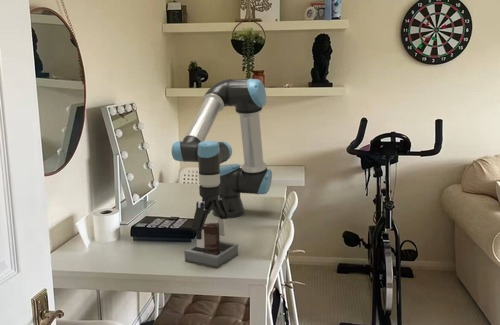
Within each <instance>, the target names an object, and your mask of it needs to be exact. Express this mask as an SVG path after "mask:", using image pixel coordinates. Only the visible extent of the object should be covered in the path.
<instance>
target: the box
mask: <svg viewBox="0 0 500 325" xmlns="http://www.w3.org/2000/svg"><path fill="white" fill-rule="evenodd" d="M202 230H204V247H205V248H204V253H207V254H212V255H219V254H220V241H221V240H220V237H221V236H219V223H218V222H215V223H214V222H213V223H210V222H209V223H208V222H207V223H205V224H204V226H203V229H202Z"/></svg>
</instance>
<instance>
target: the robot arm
mask: <svg viewBox="0 0 500 325" xmlns="http://www.w3.org/2000/svg"><path fill="white" fill-rule="evenodd" d="M201 102H202V104H201V107H200V108H199V110H198V111H197V114H196V115H195V117H194V119H193V121H192V123H191V125H190V127H189V129H188V130H187V132H186V134H185V136H184V137H183V139H182V141H181V140H179V141H175V142H174V143H173V144H172V145H171V156H172V158H173V160H174V161H176V162H183V163H197V164H198V184H199V185H198V186H199V187H198V188H199V189H198V190H199V191H198V194H199V196H200V197H201V201H196V205H195V213H194V216H193V220H192V225H191V230H193V231H195V238H196V244H197V247H200V248H205V247H204V230H203V226H204V224H206V221H207V218H208V215H209V214H210V213H211V211H212V215H213V216H214V217H218V218H217V223H219V237H225V236H226V220H228V218H230V219H231V218H237V217H240V216H243V215H244V214H245V206H244V204H243V201H242V198H241V194H247V195H250V194H251V195H257V196H258V195H266V194H268V192H269V190H270V188H271V185H272V184H271V183H272V180H273V172H272V169H268V164H267V163H266V162H264V155H263V143H262V132H261V119H260V113H261V112H262V111H263V108H264V107H265V106H266V103H267V93H266V89H265V85H264V83H263V81H261V80H260V79H258V78H257V79H256V78H236V79H235V78H226V79H223V80H220V81H218V82H216V83H215V84H214V85H212V86H211V87H210V88H209V89H208V90H207V91H206V92H205V93H204V96H203V97H202V100H201ZM225 107H234V108H235V113H236V114H238V115H239V121H240V122H239V123H240V131H241V142H242V152H243V153H242V154H243V161H244V164H242V166H241V165H240V164H237V163H232V164H224V165H221V164H223V163H226V162H227V161H228V160H229V159H231V157H232V155H233V148H232V146H231V144H229V143H228V142H227V141H218V142H217V141H216V140H215V141H214V140H206V138H207V136H208V134H209V133H210V130H211V129H212V127H213V124H214V123H215V120H216V118H217V116H218V115H219V113H220V112H221V111H223V109H224V108H225Z"/></svg>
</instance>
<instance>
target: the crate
mask: <svg viewBox="0 0 500 325" xmlns="http://www.w3.org/2000/svg"><path fill="white" fill-rule="evenodd" d="M183 251H184V262H186V263H189V264H196V265H199V266H205V267H210V268H214V269H219V268H221V267H222V266H223V265H226V264H227V263H228V262H230V261H231V260H233V259H235V258H236V257H237V256H239V244H238V243H233V242H228V241H221V240H220V254H219V255H212V254H207V253H204V248H200V247H197V243H196V244H194V245H193V246H191V247H189V248H187V249H185V250H183Z"/></svg>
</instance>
